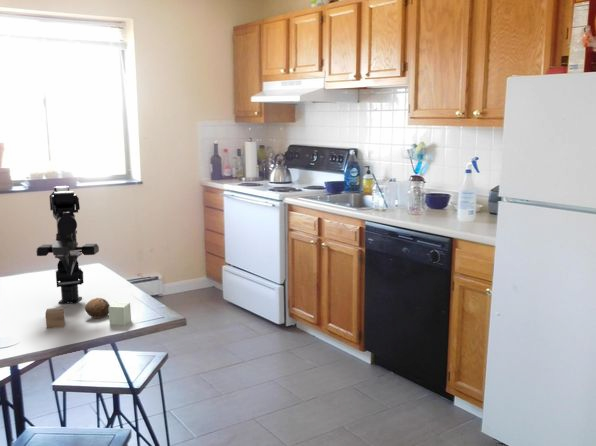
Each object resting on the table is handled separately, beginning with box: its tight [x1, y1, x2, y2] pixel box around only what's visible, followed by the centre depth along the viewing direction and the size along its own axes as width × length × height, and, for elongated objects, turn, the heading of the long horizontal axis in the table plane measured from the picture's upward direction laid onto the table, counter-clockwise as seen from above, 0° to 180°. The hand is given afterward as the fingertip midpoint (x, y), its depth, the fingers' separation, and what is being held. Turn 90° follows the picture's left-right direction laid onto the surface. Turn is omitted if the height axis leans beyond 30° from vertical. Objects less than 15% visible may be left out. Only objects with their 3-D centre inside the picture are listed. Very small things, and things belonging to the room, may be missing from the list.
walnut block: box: [45, 307, 66, 329], centre depth 185 cm, size 5×5×5 cm
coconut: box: [84, 297, 111, 319], centre depth 193 cm, size 8×8×6 cm
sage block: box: [108, 301, 132, 326], centre depth 187 cm, size 5×5×6 cm
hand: (69, 274), depth 196 cm, fingers closed
